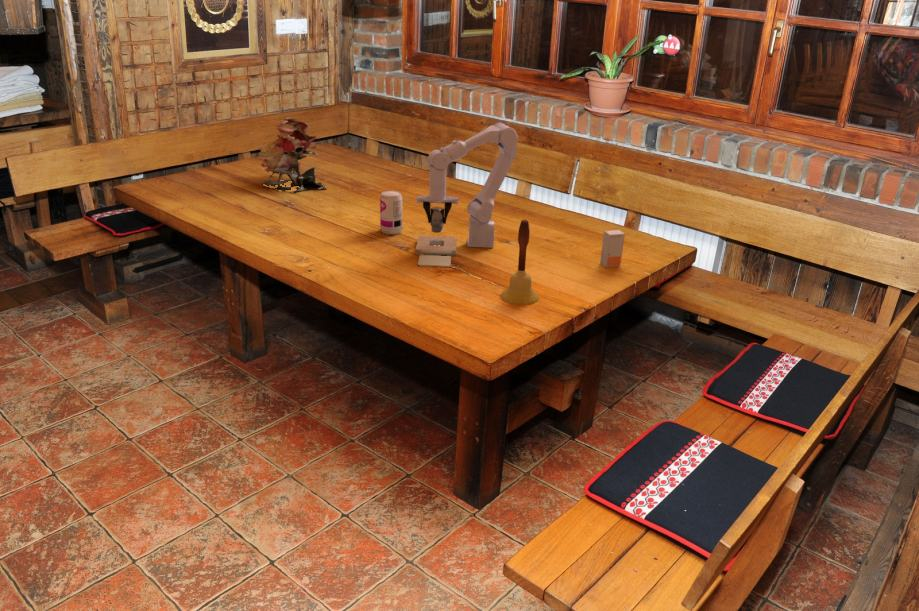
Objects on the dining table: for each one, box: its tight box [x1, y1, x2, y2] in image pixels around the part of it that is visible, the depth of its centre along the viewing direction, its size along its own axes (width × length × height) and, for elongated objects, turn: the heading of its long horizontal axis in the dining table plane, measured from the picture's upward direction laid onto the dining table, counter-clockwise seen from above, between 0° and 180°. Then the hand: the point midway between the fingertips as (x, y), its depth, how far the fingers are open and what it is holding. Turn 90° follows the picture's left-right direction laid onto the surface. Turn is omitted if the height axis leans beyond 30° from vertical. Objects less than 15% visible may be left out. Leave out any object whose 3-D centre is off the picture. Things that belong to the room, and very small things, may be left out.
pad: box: [417, 255, 452, 268], centre depth 266 cm, size 11×9×1 cm
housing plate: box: [415, 235, 458, 257], centre depth 277 cm, size 14×14×2 cm
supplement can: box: [379, 190, 403, 235], centre depth 289 cm, size 8×8×15 cm
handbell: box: [499, 219, 540, 306], centre depth 236 cm, size 12×12×25 cm
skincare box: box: [599, 229, 626, 268], centre depth 266 cm, size 6×4×12 cm
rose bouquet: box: [260, 117, 332, 193], centre depth 337 cm, size 26×29×30 cm
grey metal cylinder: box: [429, 206, 445, 233], centre depth 273 cm, size 5×5×8 cm
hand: (437, 222), depth 274 cm, fingers closed on grey metal cylinder, 5 cm apart
